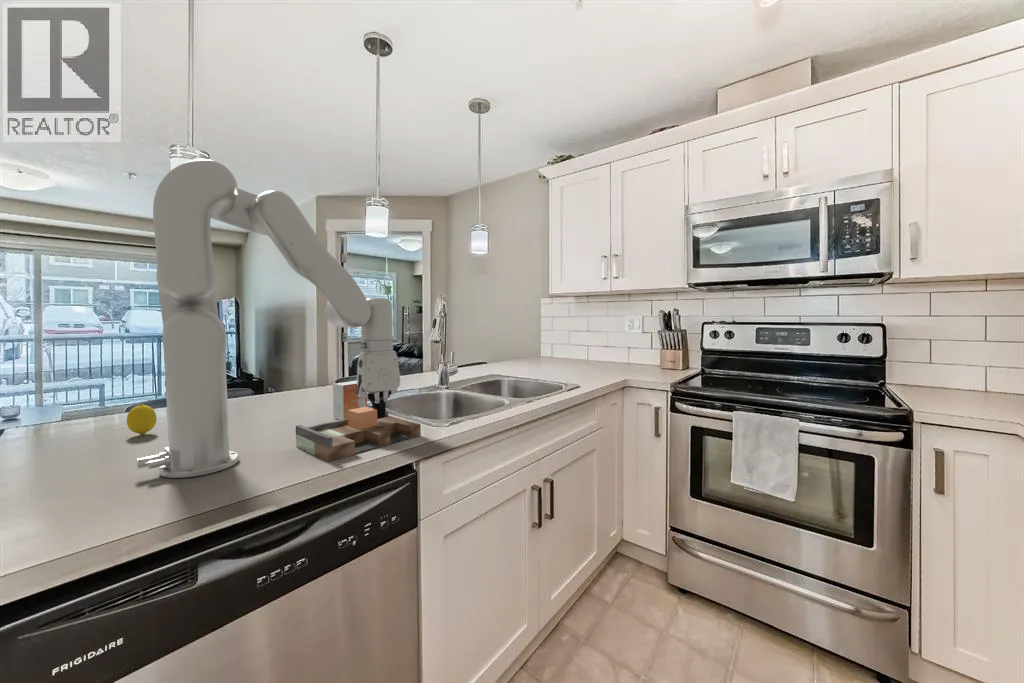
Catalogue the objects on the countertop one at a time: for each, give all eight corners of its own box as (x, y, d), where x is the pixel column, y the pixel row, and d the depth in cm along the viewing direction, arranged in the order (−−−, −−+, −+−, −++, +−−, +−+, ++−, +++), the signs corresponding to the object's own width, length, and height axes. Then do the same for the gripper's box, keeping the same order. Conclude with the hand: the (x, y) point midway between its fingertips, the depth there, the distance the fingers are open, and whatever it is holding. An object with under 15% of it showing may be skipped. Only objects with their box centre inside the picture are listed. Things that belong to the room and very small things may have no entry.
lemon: (143, 438, 99) (141, 406, 99) (121, 438, 99) (119, 406, 99) (163, 432, 105) (161, 401, 104) (142, 431, 105) (140, 401, 104)
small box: (343, 421, 116) (342, 385, 116) (332, 418, 120) (332, 383, 119) (368, 416, 123) (367, 381, 122) (357, 413, 126) (356, 379, 125)
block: (359, 429, 97) (358, 413, 97) (348, 425, 101) (347, 410, 100) (377, 425, 101) (377, 409, 101) (366, 421, 104) (366, 406, 104)
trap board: (328, 461, 84) (327, 438, 84) (296, 446, 94) (295, 425, 93) (420, 435, 103) (420, 416, 103) (386, 425, 112) (386, 407, 112)
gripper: (358, 349, 95) (360, 426, 96) (410, 345, 107) (411, 414, 108) (342, 347, 100) (344, 420, 101) (393, 344, 111) (394, 409, 113)
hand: (379, 417), depth 105 cm, fingers closed
